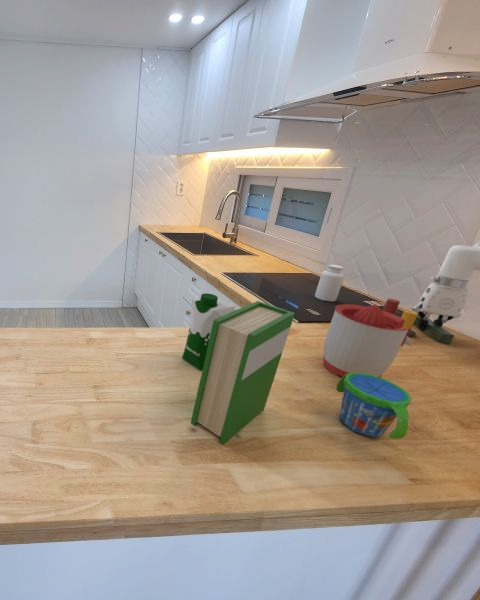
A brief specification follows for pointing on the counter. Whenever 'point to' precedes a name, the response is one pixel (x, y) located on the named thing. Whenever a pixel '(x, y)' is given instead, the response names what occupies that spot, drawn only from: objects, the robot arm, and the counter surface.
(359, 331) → the citrus juicer
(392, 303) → the red post
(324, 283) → the pill bottle
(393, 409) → the snack cup
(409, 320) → the mustard post
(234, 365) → the hardback book
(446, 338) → the bar
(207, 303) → the milk carton
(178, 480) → the counter surface
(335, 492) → the counter surface
